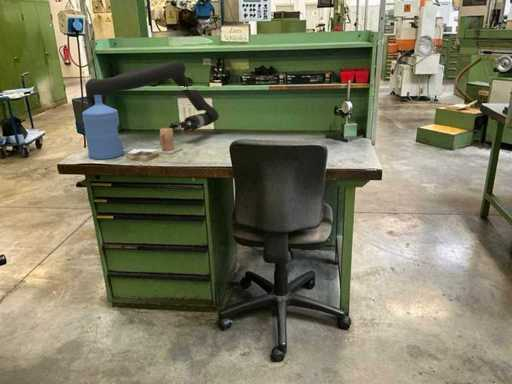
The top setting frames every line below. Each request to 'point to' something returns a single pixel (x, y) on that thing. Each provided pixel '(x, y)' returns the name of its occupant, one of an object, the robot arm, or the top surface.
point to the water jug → (102, 131)
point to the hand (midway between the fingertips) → (177, 128)
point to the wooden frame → (134, 157)
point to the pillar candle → (166, 139)
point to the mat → (168, 151)
